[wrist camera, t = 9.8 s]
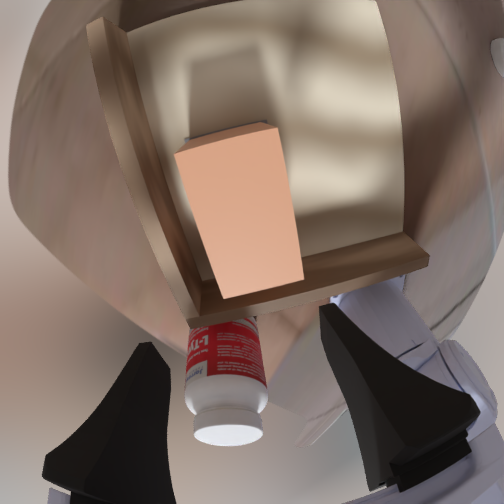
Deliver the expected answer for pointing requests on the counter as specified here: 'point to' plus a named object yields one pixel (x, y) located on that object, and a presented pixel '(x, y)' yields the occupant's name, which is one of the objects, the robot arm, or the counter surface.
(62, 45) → the counter surface
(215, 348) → the pill bottle
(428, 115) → the counter surface
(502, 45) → the bottle
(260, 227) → the block
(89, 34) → the tray
